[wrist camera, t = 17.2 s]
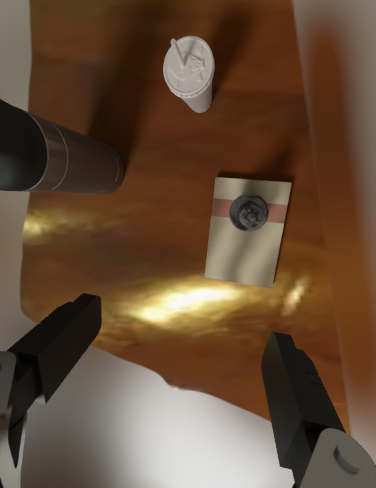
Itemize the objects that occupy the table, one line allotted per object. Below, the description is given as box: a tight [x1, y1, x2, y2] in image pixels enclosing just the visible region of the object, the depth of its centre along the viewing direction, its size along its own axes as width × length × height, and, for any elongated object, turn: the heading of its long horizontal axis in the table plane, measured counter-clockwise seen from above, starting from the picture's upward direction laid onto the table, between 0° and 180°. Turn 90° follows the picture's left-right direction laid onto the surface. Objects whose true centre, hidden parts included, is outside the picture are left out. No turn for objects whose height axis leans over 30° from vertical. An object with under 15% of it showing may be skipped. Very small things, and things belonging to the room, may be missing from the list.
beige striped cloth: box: [205, 177, 292, 288], centre depth 38 cm, size 12×18×1 cm, turn 175°
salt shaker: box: [229, 193, 269, 232], centre depth 31 cm, size 6×6×12 cm
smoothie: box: [163, 36, 215, 113], centre depth 29 cm, size 6×6×14 cm
